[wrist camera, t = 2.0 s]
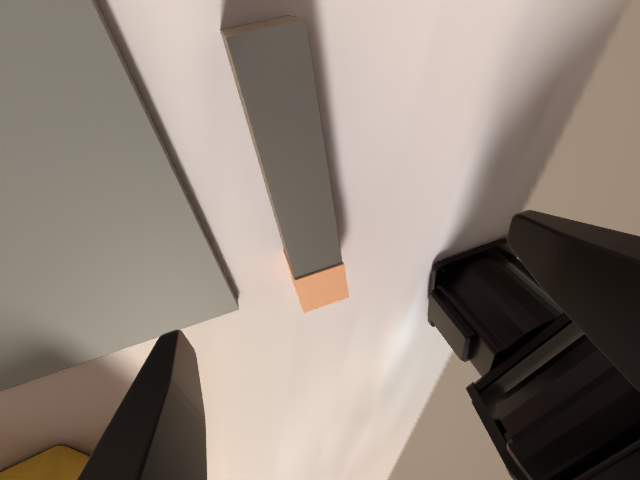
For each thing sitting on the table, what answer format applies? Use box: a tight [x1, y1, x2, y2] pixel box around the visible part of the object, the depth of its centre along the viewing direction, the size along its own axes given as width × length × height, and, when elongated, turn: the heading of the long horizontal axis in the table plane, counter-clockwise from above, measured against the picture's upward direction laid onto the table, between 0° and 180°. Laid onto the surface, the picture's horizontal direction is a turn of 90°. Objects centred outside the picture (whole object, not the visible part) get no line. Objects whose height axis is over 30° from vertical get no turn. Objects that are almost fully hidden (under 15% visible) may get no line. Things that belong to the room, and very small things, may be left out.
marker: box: [220, 15, 349, 313], centre depth 14 cm, size 2×12×2 cm, turn 9°
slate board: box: [0, 0, 239, 391], centre depth 13 cm, size 13×15×1 cm
